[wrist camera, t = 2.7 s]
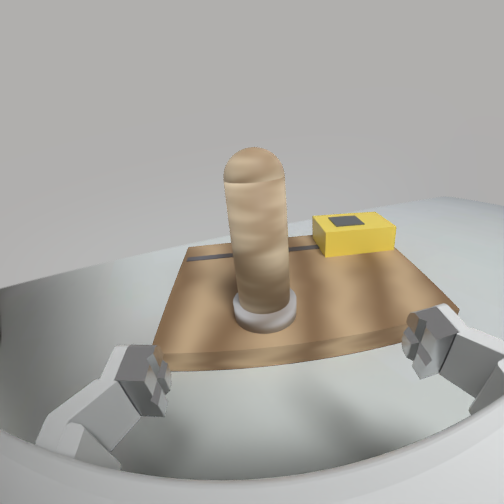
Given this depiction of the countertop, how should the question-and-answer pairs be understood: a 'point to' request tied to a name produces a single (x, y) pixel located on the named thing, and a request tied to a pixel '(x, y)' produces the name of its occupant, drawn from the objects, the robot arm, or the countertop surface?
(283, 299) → the wooden dome-topped peg
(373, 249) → the block
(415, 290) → the plywood board
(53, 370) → the countertop surface
